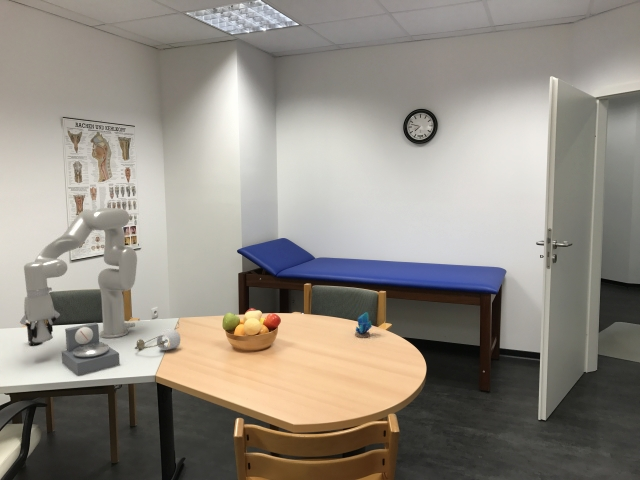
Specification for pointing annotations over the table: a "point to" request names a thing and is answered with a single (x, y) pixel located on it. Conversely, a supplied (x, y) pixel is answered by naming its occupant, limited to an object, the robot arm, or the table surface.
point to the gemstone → (363, 326)
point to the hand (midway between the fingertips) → (42, 335)
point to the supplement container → (32, 337)
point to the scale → (86, 364)
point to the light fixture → (172, 336)
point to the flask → (42, 332)
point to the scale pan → (91, 350)
